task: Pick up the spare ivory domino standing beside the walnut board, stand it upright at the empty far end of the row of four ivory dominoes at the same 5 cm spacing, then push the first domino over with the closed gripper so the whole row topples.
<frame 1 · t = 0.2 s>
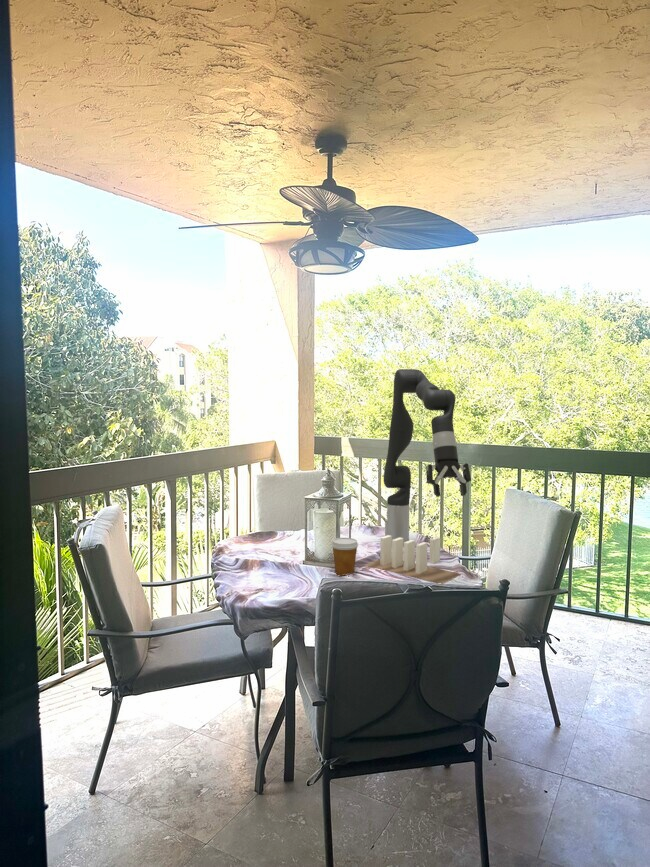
hand: (450, 496, 183), 31 cm above the table, tool tilted 20°, fingers open, 8 cm apart
domino 4: (421, 571, 201), point 1 cm above the table, touching walnut board
domino 2: (397, 566, 207), point 1 cm above the table, touching walnut board
walnut board: (411, 572, 203), on the table
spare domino: (434, 564, 212), on the table
domino 1: (385, 563, 210), point 1 cm above the table, touching walnut board
domino 3: (409, 568, 204), point 1 cm above the table, touching walnut board
disposable coffee cup: (344, 574, 202), on the table
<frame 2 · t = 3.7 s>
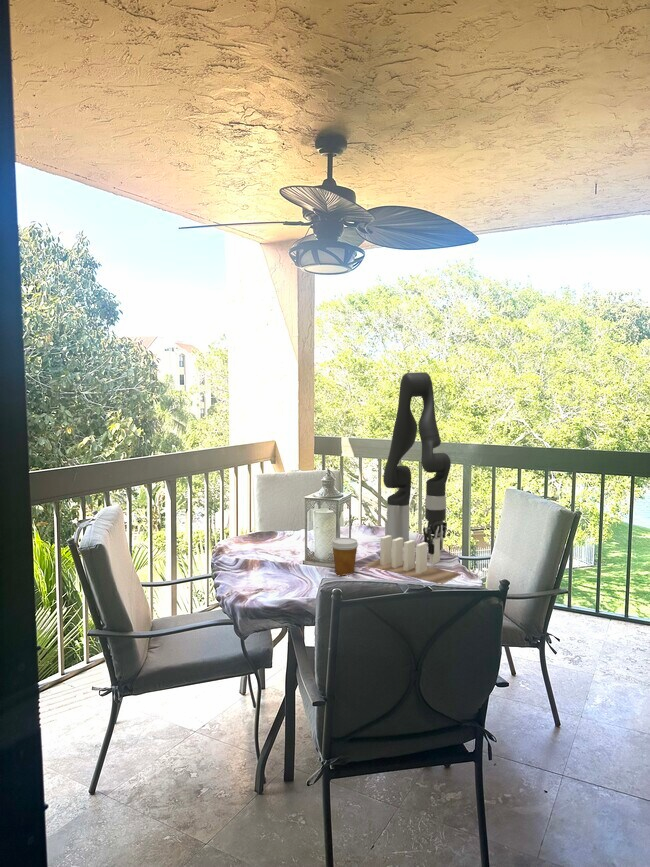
hand: (434, 551, 212), 5 cm above the table, tool pointing down, fingers closed on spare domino, 5 cm apart
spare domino: (434, 564, 212), on the table, touching gripper
everything else where it was.
when the fingers open (7 cm above the table, at t = 9.8 s): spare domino stays where it is, resting on walnut board.
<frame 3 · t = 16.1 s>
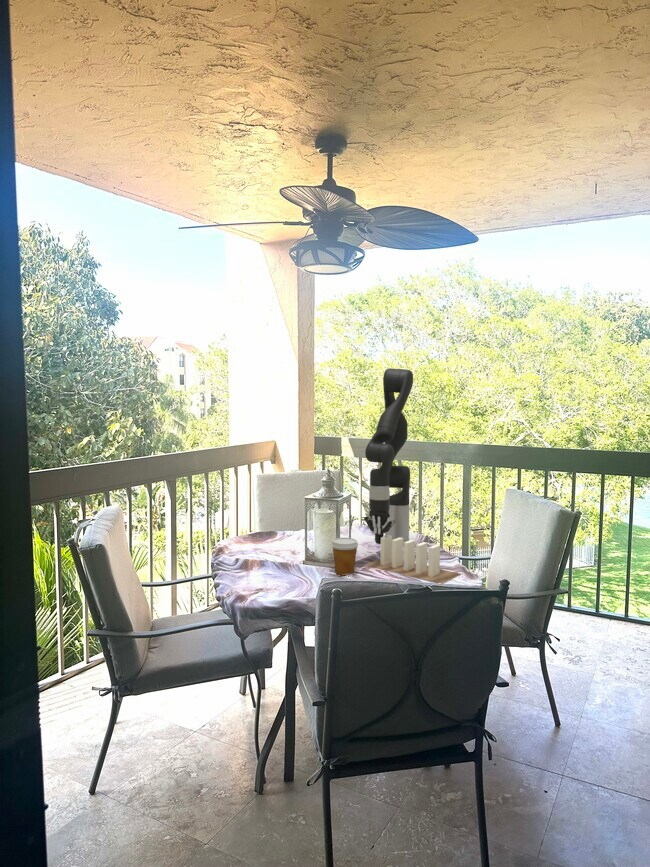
hand: (379, 543, 212), 8 cm above the table, tool pointing down, fingers closed
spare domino: (434, 574, 198), point 1 cm above the table, touching walnut board
domino 1: (385, 563, 210), point 1 cm above the table, touching gripper, walnut board
everything else where it was.
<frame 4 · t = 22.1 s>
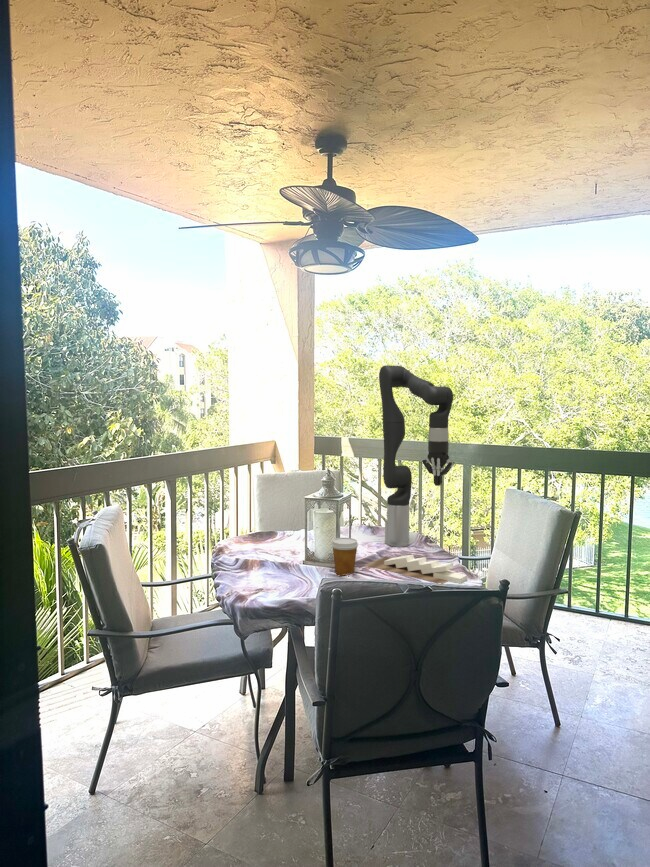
hand: (437, 485, 215), 29 cm above the table, tool pointing down, fingers closed
domino 4: (425, 570, 200), point 2 cm above the table, tilted 72°, touching domino 3, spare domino
domino 2: (399, 564, 207), point 2 cm above the table, tilted 71°, touching domino 1, domino 3
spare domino: (437, 573, 197), point 2 cm above the table, tilted 90°, touching domino 4, walnut board
domino 1: (388, 561, 210), point 2 cm above the table, tilted 71°, touching domino 2, walnut board
domino 3: (411, 567, 203), point 2 cm above the table, tilted 72°, touching domino 2, domino 4, walnut board
everything else where it was.
at the end: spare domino inside the target area (0.7 cm from its centre), point 1.8 cm above the table; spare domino tilted 90°; domino 1 tilted 71° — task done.
